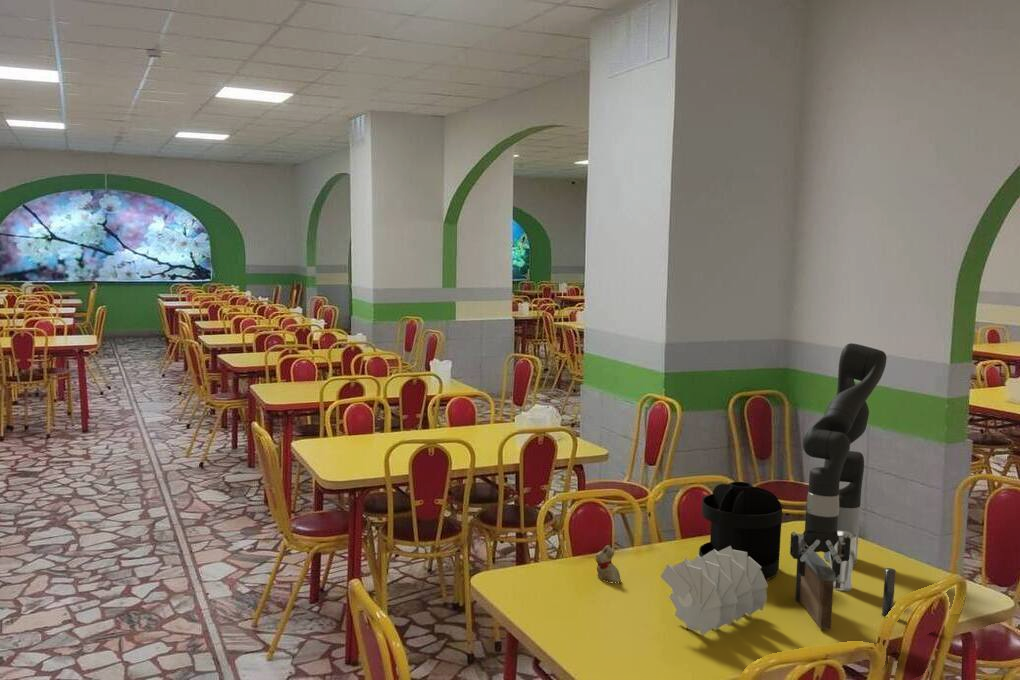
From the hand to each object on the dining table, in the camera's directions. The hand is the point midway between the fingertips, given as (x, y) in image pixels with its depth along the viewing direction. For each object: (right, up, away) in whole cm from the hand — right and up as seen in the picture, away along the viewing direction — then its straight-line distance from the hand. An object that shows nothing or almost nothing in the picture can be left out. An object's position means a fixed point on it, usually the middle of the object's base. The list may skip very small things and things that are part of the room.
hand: (818, 575), depth 210 cm
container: (-11, -8, +36) cm, 39 cm away
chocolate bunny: (-49, -8, +26) cm, 56 cm away
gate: (0, -11, +3) cm, 11 cm away
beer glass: (+15, -10, +24) cm, 30 cm away
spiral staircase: (-26, -11, -1) cm, 28 cm away
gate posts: (+10, -11, +10) cm, 18 cm away
